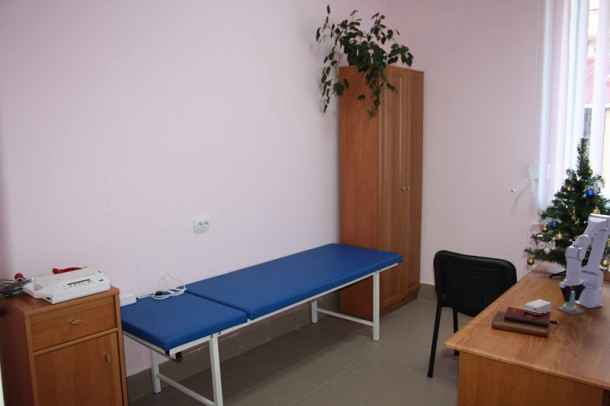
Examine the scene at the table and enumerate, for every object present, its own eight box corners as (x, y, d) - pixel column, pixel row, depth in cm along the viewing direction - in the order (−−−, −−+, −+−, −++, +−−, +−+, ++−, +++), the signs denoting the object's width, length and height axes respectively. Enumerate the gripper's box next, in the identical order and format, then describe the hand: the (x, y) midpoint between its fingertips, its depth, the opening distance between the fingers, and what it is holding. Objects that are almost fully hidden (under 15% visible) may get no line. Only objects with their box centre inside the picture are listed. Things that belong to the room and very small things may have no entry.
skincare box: (539, 307, 220) (523, 313, 214) (539, 298, 219) (523, 303, 213) (551, 311, 215) (535, 317, 209) (552, 302, 214) (536, 307, 208)
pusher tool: (568, 306, 218) (570, 289, 217) (576, 309, 215) (577, 292, 214) (562, 307, 217) (563, 290, 216) (570, 310, 213) (571, 293, 212)
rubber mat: (569, 306, 221) (569, 305, 220) (584, 312, 213) (584, 311, 213) (556, 309, 218) (556, 307, 218) (571, 315, 210) (572, 313, 210)
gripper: (577, 268, 219) (574, 296, 221) (554, 271, 214) (552, 299, 216) (590, 272, 213) (588, 300, 215) (568, 275, 207) (565, 304, 209)
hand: (571, 300), depth 215 cm, fingers open, 6 cm apart
